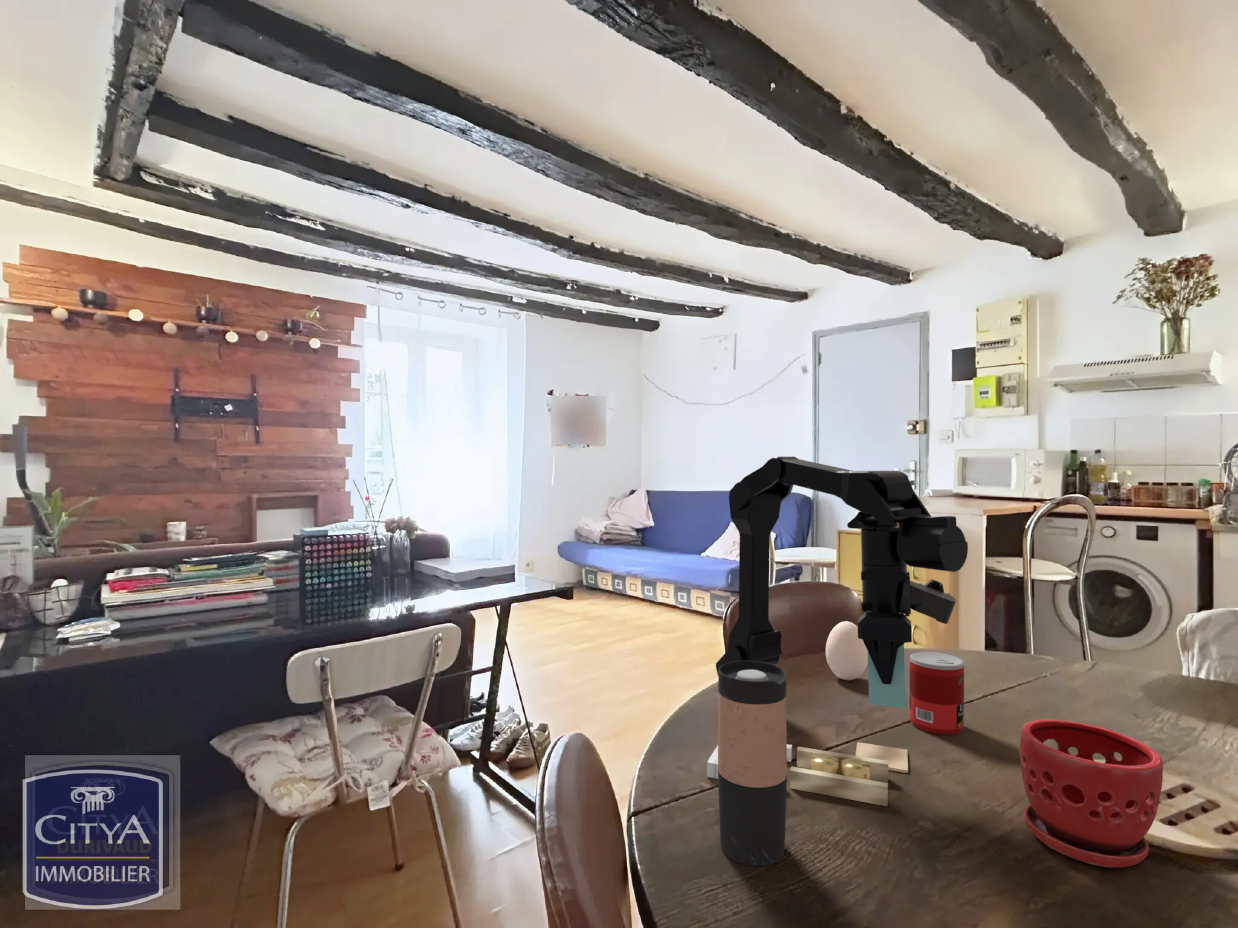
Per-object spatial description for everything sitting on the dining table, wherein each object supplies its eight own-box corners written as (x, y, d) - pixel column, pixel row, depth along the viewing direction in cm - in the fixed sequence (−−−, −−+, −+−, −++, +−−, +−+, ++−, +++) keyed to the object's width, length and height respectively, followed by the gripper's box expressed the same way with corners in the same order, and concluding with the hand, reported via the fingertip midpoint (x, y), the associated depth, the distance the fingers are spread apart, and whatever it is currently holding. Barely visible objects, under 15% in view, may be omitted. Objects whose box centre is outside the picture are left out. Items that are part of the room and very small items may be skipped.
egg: (838, 669, 136) (838, 614, 136) (875, 679, 131) (876, 621, 130) (817, 679, 131) (817, 621, 131) (855, 689, 125) (855, 629, 125)
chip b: (840, 790, 88) (840, 767, 88) (842, 778, 91) (842, 756, 91) (869, 795, 86) (869, 772, 86) (870, 782, 90) (870, 760, 90)
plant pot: (1114, 894, 67) (1115, 775, 67) (994, 827, 79) (994, 726, 79) (1189, 862, 72) (1189, 752, 72) (1065, 804, 84) (1066, 709, 84)
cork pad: (854, 764, 95) (854, 761, 95) (857, 744, 101) (857, 741, 101) (908, 773, 92) (908, 770, 92) (907, 752, 99) (907, 749, 99)
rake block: (869, 704, 89) (867, 636, 89) (870, 694, 93) (868, 629, 93) (905, 707, 87) (903, 639, 87) (905, 698, 91) (903, 632, 91)
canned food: (970, 737, 104) (970, 667, 104) (915, 733, 106) (915, 664, 105) (955, 718, 111) (955, 652, 111) (904, 714, 113) (905, 650, 113)
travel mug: (711, 829, 79) (710, 660, 78) (774, 826, 79) (774, 659, 79) (727, 869, 71) (726, 683, 71) (797, 865, 72) (797, 680, 71)
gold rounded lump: (809, 784, 89) (809, 762, 89) (812, 772, 93) (812, 751, 93) (837, 789, 88) (837, 767, 88) (839, 777, 91) (839, 755, 91)
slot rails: (790, 788, 88) (790, 770, 88) (798, 762, 95) (798, 746, 95) (887, 806, 84) (887, 787, 84) (888, 778, 91) (888, 760, 91)
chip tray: (707, 776, 91) (707, 762, 91) (724, 747, 101) (724, 733, 101) (781, 790, 88) (781, 775, 88) (792, 758, 97) (792, 744, 97)
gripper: (956, 576, 78) (959, 709, 78) (945, 556, 96) (948, 665, 95) (856, 572, 83) (859, 698, 82) (862, 554, 100) (865, 658, 100)
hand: (886, 678), depth 90 cm, fingers closed on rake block, 4 cm apart
